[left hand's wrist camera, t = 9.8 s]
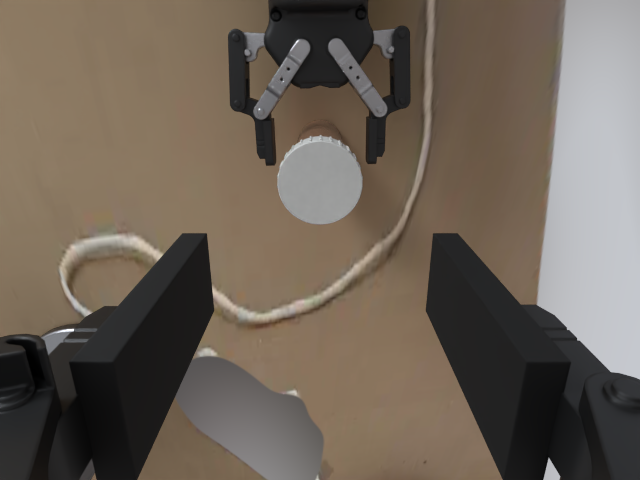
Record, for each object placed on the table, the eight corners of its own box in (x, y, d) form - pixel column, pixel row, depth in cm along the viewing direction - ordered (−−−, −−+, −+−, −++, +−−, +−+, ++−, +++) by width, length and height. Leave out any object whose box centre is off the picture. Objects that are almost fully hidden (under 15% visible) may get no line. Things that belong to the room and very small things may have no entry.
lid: (291, 221, 29) (288, 233, 27) (270, 145, 27) (266, 151, 25) (366, 205, 29) (371, 215, 26) (351, 126, 27) (353, 130, 25)
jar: (304, 166, 44) (294, 222, 27) (294, 125, 42) (277, 156, 25) (345, 157, 43) (360, 207, 27) (336, 115, 42) (347, 140, 25)
